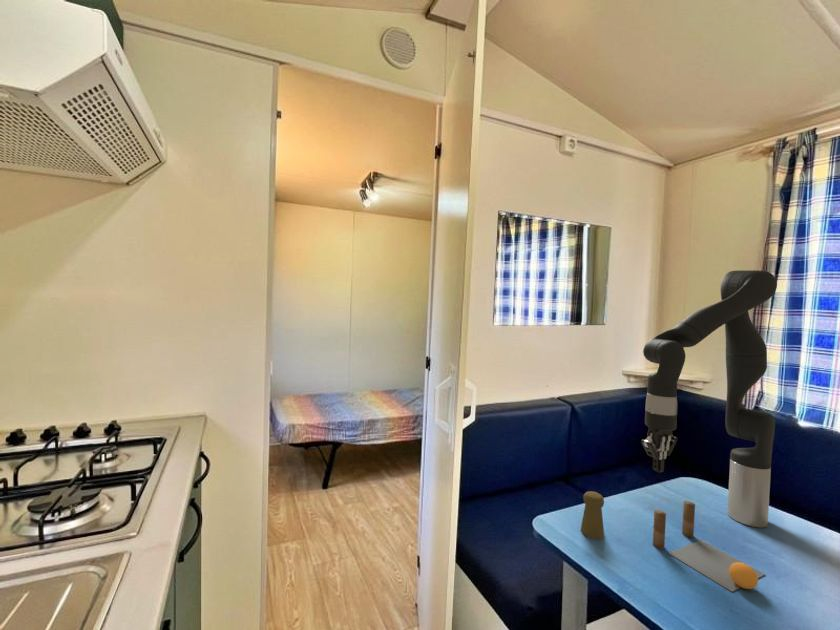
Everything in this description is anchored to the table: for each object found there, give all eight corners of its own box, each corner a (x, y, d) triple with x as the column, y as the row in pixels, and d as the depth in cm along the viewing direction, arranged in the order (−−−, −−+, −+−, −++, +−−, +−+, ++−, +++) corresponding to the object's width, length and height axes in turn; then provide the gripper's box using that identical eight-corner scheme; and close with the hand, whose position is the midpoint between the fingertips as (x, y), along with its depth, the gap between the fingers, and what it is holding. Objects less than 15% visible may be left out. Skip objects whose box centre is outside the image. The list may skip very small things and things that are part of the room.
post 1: (656, 541, 101) (658, 509, 101) (666, 547, 99) (668, 514, 99) (650, 544, 100) (652, 510, 100) (660, 550, 98) (661, 516, 97)
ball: (767, 576, 83) (759, 593, 84) (745, 556, 88) (737, 573, 89) (749, 578, 82) (741, 595, 83) (727, 557, 87) (720, 574, 88)
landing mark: (701, 540, 102) (701, 539, 102) (765, 574, 89) (765, 574, 89) (668, 553, 96) (668, 552, 96) (732, 592, 84) (732, 591, 84)
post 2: (685, 531, 106) (687, 500, 106) (695, 536, 104) (697, 504, 104) (680, 533, 105) (681, 501, 105) (689, 538, 103) (691, 506, 103)
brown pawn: (607, 540, 101) (608, 500, 101) (583, 537, 102) (584, 497, 102) (601, 527, 107) (602, 489, 107) (578, 524, 108) (579, 487, 108)
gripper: (662, 404, 112) (660, 462, 112) (632, 409, 106) (630, 469, 107) (689, 411, 105) (686, 472, 105) (658, 416, 99) (656, 480, 100)
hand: (658, 471), depth 106 cm, fingers closed
